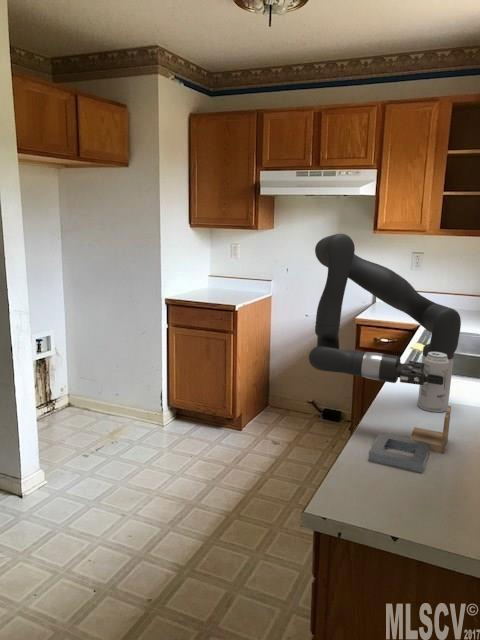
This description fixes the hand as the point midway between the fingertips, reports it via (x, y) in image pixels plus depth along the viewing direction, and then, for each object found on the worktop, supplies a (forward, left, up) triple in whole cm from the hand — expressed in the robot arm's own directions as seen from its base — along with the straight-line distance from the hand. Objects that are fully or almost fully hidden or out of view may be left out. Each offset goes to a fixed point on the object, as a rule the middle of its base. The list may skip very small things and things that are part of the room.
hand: (444, 377), depth 138 cm
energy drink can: (0, -3, -9) cm, 10 cm away
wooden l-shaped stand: (0, -2, -19) cm, 19 cm away
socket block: (+12, -8, -19) cm, 24 cm away
